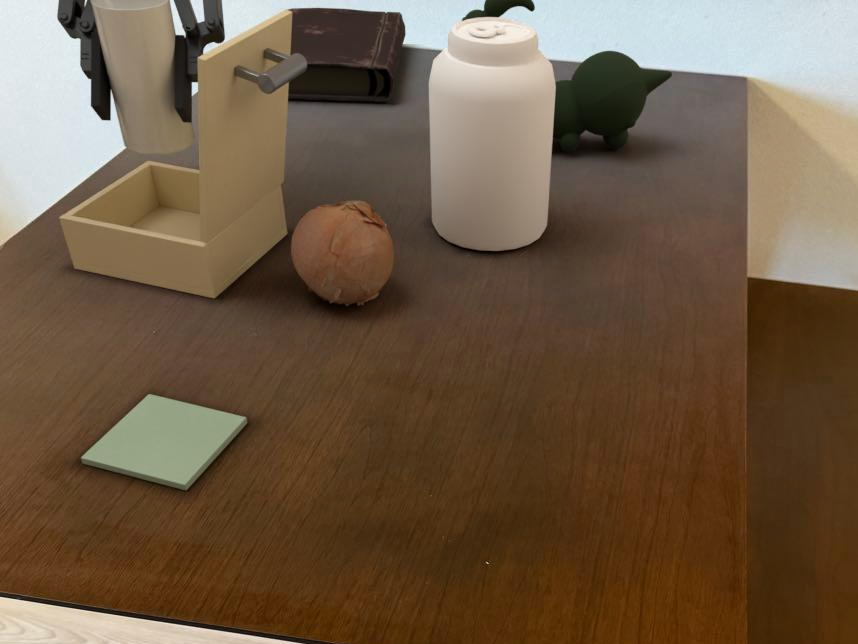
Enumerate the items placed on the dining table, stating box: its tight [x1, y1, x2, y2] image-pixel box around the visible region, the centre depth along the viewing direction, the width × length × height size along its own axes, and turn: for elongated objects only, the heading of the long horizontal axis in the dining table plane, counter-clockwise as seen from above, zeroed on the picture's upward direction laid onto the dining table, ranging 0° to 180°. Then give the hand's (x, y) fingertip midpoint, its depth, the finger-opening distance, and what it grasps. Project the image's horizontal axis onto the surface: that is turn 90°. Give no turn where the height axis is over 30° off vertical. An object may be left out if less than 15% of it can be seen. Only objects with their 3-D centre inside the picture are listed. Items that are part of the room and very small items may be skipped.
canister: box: [90, 0, 196, 155], centre depth 86 cm, size 6×6×12 cm
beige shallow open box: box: [58, 160, 288, 299], centre depth 96 cm, size 16×15×5 cm
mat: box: [80, 393, 248, 491], centre depth 75 cm, size 9×9×1 cm
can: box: [428, 16, 556, 252], centre depth 98 cm, size 12×12×20 cm
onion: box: [290, 199, 395, 307], centre depth 90 cm, size 10×9×10 cm
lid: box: [197, 9, 307, 244], centre depth 87 cm, size 16×15×4 cm
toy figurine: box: [461, 0, 673, 152], centre depth 116 cm, size 9×19×25 cm
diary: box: [287, 7, 406, 103], centre depth 137 cm, size 19×25×5 cm
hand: (142, 114), depth 85 cm, fingers closed on canister, 6 cm apart
